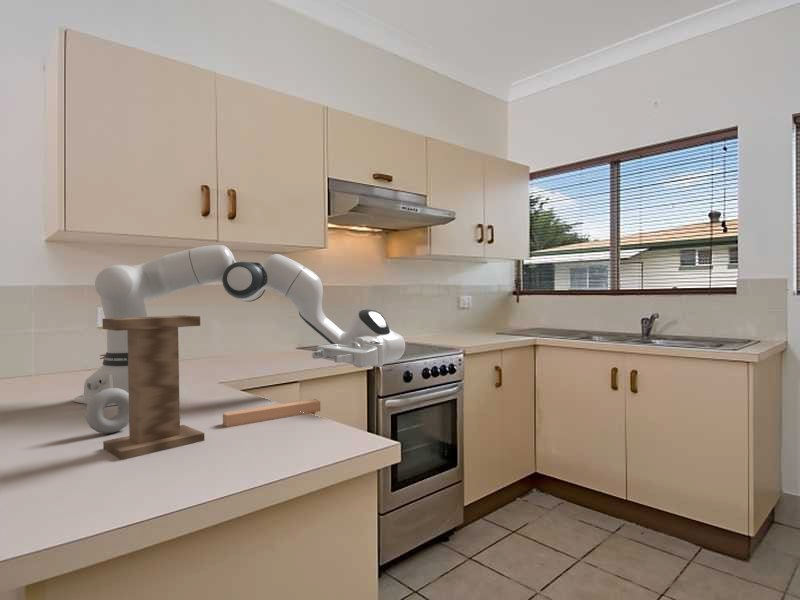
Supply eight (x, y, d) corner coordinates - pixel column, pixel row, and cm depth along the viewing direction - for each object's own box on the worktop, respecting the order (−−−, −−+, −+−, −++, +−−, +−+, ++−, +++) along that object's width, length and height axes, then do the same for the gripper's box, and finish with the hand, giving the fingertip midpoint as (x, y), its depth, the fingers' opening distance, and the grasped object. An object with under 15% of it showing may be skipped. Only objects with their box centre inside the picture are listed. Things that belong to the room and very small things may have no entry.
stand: (183, 431, 110) (181, 315, 110) (204, 440, 103) (202, 316, 103) (103, 448, 99) (100, 318, 98) (121, 459, 92) (118, 320, 91)
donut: (131, 426, 115) (130, 383, 114) (138, 429, 112) (137, 385, 112) (83, 436, 107) (82, 390, 107) (89, 439, 105) (88, 392, 105)
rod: (315, 410, 130) (315, 399, 130) (320, 412, 128) (320, 401, 128) (222, 425, 116) (222, 413, 116) (226, 428, 114) (226, 415, 114)
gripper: (338, 338, 150) (301, 342, 140) (386, 344, 136) (349, 349, 126) (338, 358, 151) (301, 364, 140) (386, 367, 137) (349, 374, 127)
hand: (324, 357), depth 133 cm, fingers open, 8 cm apart
